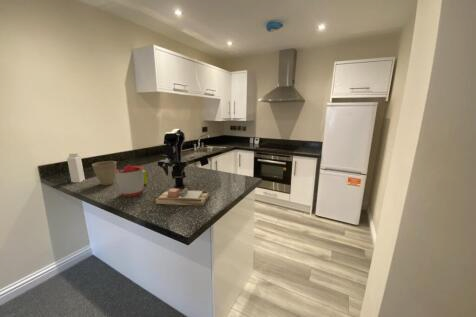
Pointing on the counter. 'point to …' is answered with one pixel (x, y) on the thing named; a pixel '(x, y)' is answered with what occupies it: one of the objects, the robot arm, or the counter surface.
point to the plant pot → (105, 171)
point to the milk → (75, 168)
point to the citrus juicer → (130, 180)
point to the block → (173, 193)
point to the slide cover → (190, 194)
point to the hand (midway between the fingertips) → (174, 176)
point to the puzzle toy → (145, 177)
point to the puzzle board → (182, 199)
